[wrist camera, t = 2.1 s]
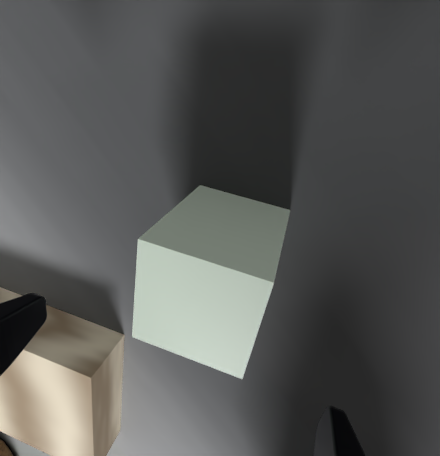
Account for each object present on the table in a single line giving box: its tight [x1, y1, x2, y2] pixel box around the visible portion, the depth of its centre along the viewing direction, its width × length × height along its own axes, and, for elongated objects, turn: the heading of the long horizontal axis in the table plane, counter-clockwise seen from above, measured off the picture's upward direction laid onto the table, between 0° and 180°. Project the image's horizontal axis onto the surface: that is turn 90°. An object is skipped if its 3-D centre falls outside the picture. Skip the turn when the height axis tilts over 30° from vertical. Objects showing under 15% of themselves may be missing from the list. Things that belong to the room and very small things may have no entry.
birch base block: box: [0, 287, 124, 456], centre depth 24 cm, size 12×12×4 cm
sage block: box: [132, 185, 290, 379], centre depth 13 cm, size 4×4×6 cm
